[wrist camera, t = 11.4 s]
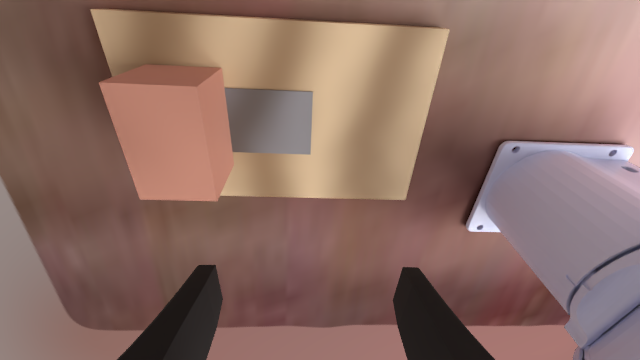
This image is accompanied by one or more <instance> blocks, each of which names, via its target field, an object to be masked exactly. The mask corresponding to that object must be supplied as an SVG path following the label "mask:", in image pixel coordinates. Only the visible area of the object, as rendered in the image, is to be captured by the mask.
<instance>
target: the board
mask: <svg viewBox="0 0 640 360" xmlns="http://www.w3.org/2000/svg"><path fill="white" fill-rule="evenodd" d="M90 10H91V13H92V17H93V20H94V23H95V26H96V29H97V32H98V35H99V38H100V41H101V44H102V47H103V50H104V53H105V56H106V59H107V62H108V65H109V69H110V72H111V75H112V77H114V76H117V75H119V74H122V73H124V72H127V71H130V70H132V69H135V68H137V67H140V66H142V65H145V64H152V65H173V66H194V67H216V68H222V72H223V80H224V88H225V96H226V104H227V112H228V120H229V128H230V136H231V144H232V151H233V159H234V166H233V168H232V170H231V173H230V175H229V177H228V179H227V181H226V183H225V186H224V188H223V190H222V192H221V194H220V196H258V197H300V198H341V199H383V200H405V199H406V195H407V192H408V188H409V184H410V180H411V176H412V172H413V169H414V165H415V161H416V157H417V153H418V149H419V146H420V142H421V138H422V134H423V130H424V126H425V123H426V119H427V115H428V111H429V107H430V103H431V99H432V96H433V92H434V88H435V84H436V80H437V76H438V73H439V69H440V65H441V61H442V57H443V53H444V50H445V46H446V42H447V38H448V34H449V30H450V29H445V28H440V27H422V26H404V25H387V24H369V23H351V22H333V21H315V20H298V19H280V18H262V17H244V16H227V15H209V14H191V13H173V12H155V11H138V10H120V9H90Z"/></svg>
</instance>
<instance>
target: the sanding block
mask: <svg viewBox="0 0 640 360" xmlns="http://www.w3.org/2000/svg"><path fill="white" fill-rule="evenodd" d="M99 85H100V88H101V91H102V94H103V96H104V99H105V102H106V105H107V108H108V111H109V113H110V116H111V119H112V122H113V125H114V127H115V130H116V133H117V136H118V139H119V142H120V144H121V147H122V150H123V153H124V156H125V158H126V161H127V164H128V167H129V170H130V173H131V175H132V178H133V181H134V184H135V187H136V189H137V192H138V195H139V198H140V199H142V200H186V201H218V198H219V196H220V194H221V192H222V190H223V188H224V186H225V183H226V181H227V179H228V177H229V175H230V173H231V170H232V168H233V166H234V159H233V151H232V144H231V136H230V128H229V120H228V112H227V104H226V96H225V88H224V80H223V72H222V68H216V67H194V66H173V65H152V64H145V65H142V66H140V67H137V68H135V69H132V70H130V71H127V72H124V73H122V74H119V75H117V76H114V77H111V78H109V79H106V80H104V81H101V82H99Z"/></svg>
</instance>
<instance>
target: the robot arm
mask: <svg viewBox="0 0 640 360" xmlns="http://www.w3.org/2000/svg"><path fill="white" fill-rule="evenodd" d="M514 147H516V148H515V149H514V150H513V151H512V149H513V148H514ZM633 152H634V149H633V147H631V146H628V145H614V144H585V143H557V142H529V141H505V142H503V143H502V144H501V145H500V146H499V148H498V150H497V153H496V155H495V158H494V160H493V162H492V165H491V167H490V169H489V172H488V174H487V176H486V179H485V181H484V183H483V186H482V188H481V190H480V193H479V195H478V197H477V200H476V202H475V204H474V207H473V209H472V212H471V214H470V216H469V219H468V221H467V223H466V228H467V229H468V230H469V231H472V232H501V233H502V234H503V235H504V236H505V238H506V239H507V240H508V241H509V242H510V244H511V245H512V246H513V247H514V249H515V250H516V251H517V252H518V253H519V255H520V256H521V257H522V258H523V259H524V261H525V262H526V263H527V264H528V266H529V267H530V268H531V269H532V270H533V272H534V273H535V274H536V275H537V276H538V278H539V279H540V280H541V281H542V282H543V284H544V285H545V286H546V287H547V289H548V290H549V291H550V292H551V293H552V295H553V296H554V297H555V298H556V299H557V301H558V302H559V303H560V304H561V306H562V307H563V308H564V309H565V310H566V312H567V313H568V314H569V315H570V320H569V321H568V323H567V324H566V325H565V326H564V328H565V329H566V330H567V332H568V333H569V334H570V335H571V337H572V338H573V339H574V341H576V343H577V344H578V347H577V348H576V349H575V352H574V355H573V360H640V167H638V166H636V165H634V164H632V163H630V162H628V159H629V158H630V157H631V155H632V154H633ZM479 225H480V226H479ZM222 300H223V298H222V293H221V289H220V284H219V279H218V275H217V270H216V265H199V266H197V267H196V269H195V270H194V271H193V273H192V274H191V275H190V276H189V278H188V279H187V280H186V282H185V283H184V284H183V285H182V287H181V288H180V289H179V291H178V292H177V293H176V294H175V295H174V297H173V298H172V299H171V300H170V302H169V303H168V304H167V305H166V306H165V308H164V309H163V310H162V311H161V312H160V313H159V315H158V316H157V317H156V318H155V319H154V320H153V322H152V323H151V324H150V325H149V326H148V327H147V328H146V329H145V330H144V332H143V333H142V334H141V335H140V336H139V337H138V338H137V339H136V340H135V341H134V342H133V344H132V345H131V346H130V347H129V348H128V349H127V350H126V351H125V352H124V353H123V354H122V355H121V356H120V357H119V358H118V359H117V360H206V358H207V355H208V353H209V350H210V346H211V343H212V340H213V337H214V334H215V331H216V328H217V324H218V319H219V315H220V310H221V305H222ZM393 303H394V309H395V315H396V320H397V325H398V329H399V332H400V336H401V339H402V342H403V346H404V349H405V353H406V356H407V359H408V360H495V359H494V358H493V357H492V356H491V355H490V354H489V353H488V352H487V351H486V349H485V348H484V347H483V346H482V345H481V344H480V343H479V342H478V341H477V339H476V338H475V337H474V336H473V335H472V334H471V333H470V332H469V330H468V329H467V328H466V327H465V326H464V325H463V323H462V322H461V321H460V320H459V319H458V317H457V316H456V315H455V314H454V313H453V311H452V310H451V309H450V308H449V306H448V305H447V304H446V303H445V301H444V300H443V299H442V298H441V296H440V295H439V294H438V293H437V291H436V290H435V289H434V287H433V286H432V285H431V283H430V282H429V281H428V279H427V278H426V277H425V275H424V274H423V273H422V272H421V270H420V269H419V268H412V267H403V268H402V272H401V275H400V278H399V282H398V285H397V288H396V292H395V295H394V298H393Z"/></svg>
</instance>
